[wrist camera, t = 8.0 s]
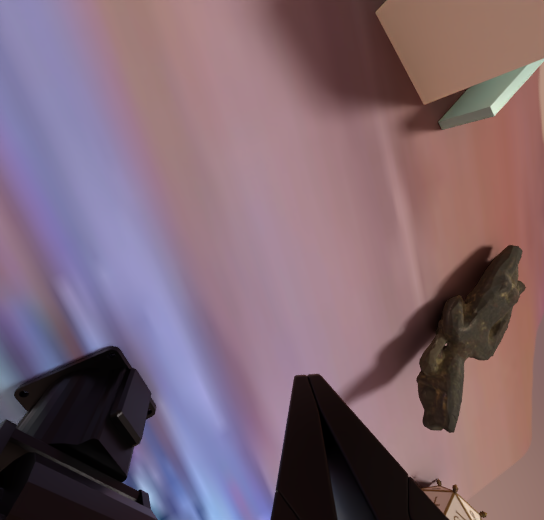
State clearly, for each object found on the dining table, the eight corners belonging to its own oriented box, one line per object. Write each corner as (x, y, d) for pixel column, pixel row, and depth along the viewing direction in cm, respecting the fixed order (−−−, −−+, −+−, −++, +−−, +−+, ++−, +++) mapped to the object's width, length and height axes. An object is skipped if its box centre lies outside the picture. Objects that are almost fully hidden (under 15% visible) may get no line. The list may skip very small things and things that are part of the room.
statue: (465, 236, 29) (376, 391, 25) (525, 230, 24) (424, 425, 20) (495, 270, 30) (416, 421, 26) (558, 271, 25) (471, 460, 21)
